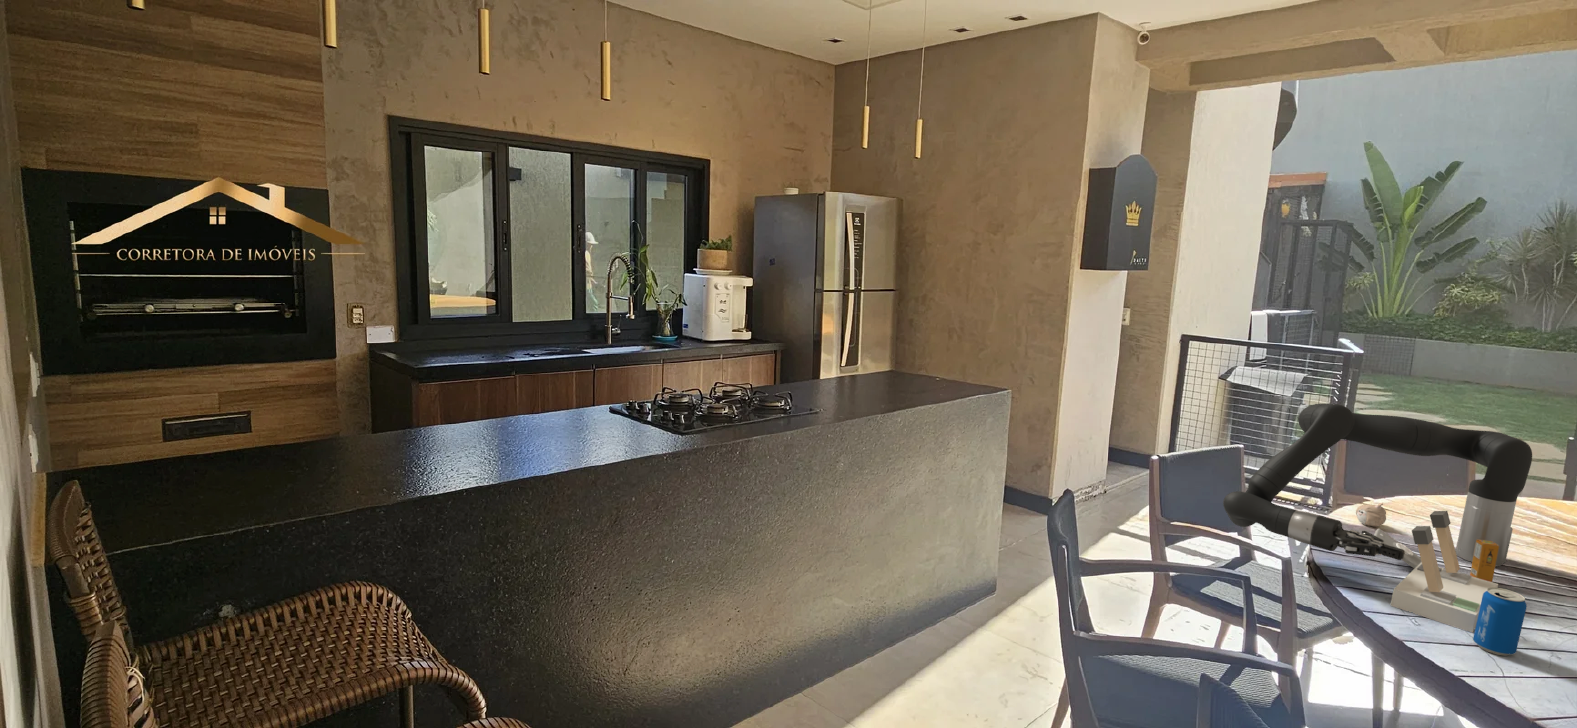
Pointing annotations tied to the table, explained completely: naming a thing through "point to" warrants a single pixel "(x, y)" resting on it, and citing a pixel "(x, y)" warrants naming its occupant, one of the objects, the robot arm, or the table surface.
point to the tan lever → (1428, 557)
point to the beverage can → (1500, 621)
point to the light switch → (1408, 555)
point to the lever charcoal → (1445, 540)
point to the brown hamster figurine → (1371, 514)
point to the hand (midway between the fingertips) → (1403, 555)
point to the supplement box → (1484, 560)
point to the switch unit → (1442, 597)
